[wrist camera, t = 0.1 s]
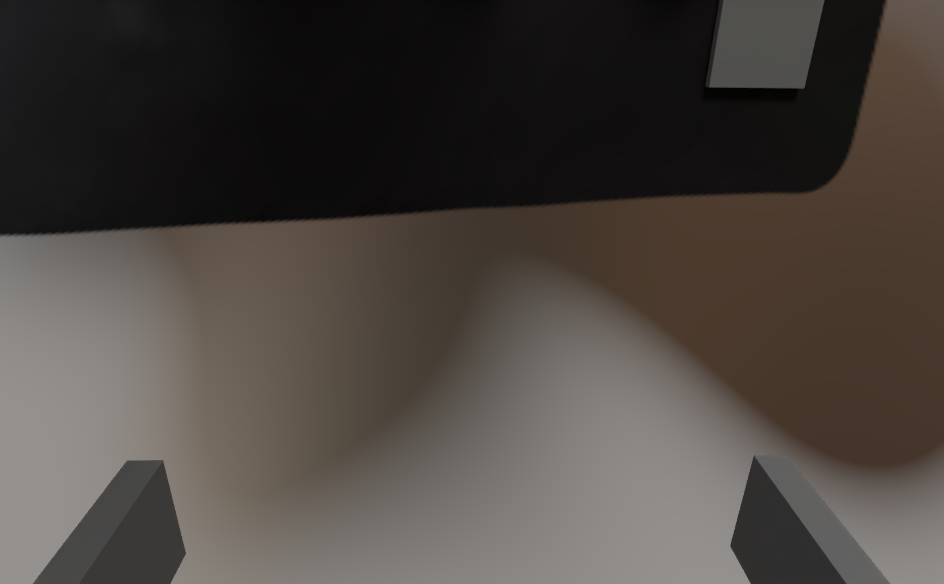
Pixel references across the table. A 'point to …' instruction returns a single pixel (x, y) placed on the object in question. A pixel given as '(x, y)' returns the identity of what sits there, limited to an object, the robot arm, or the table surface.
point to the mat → (763, 43)
